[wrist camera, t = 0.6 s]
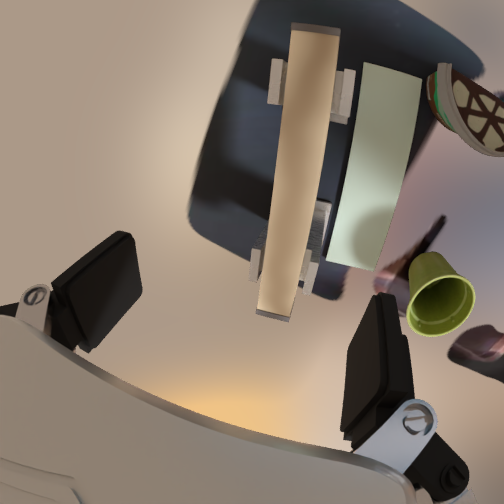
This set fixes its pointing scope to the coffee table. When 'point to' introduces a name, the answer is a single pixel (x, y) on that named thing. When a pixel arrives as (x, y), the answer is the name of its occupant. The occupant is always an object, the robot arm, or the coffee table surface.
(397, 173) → the mat
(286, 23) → the coffee table surface
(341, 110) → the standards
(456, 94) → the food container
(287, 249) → the rail
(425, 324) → the plant pot
